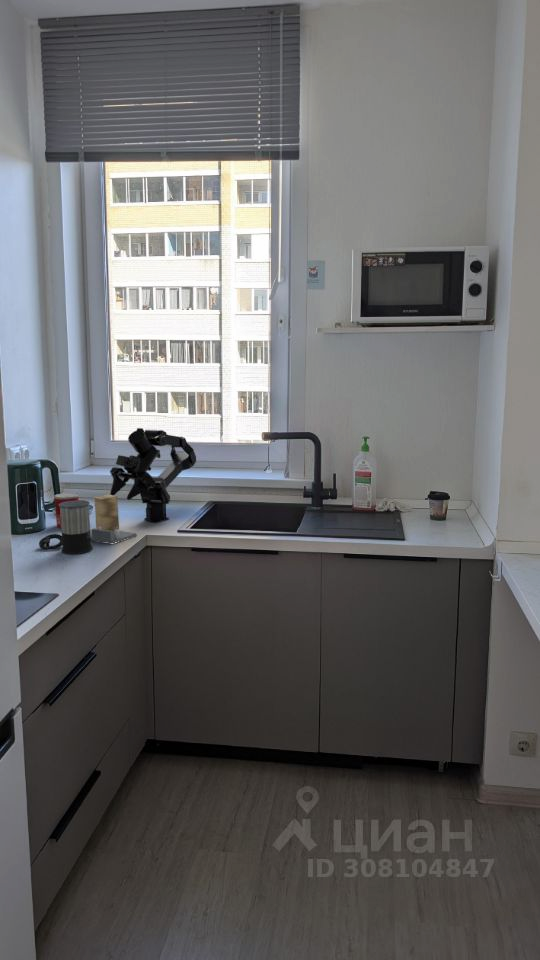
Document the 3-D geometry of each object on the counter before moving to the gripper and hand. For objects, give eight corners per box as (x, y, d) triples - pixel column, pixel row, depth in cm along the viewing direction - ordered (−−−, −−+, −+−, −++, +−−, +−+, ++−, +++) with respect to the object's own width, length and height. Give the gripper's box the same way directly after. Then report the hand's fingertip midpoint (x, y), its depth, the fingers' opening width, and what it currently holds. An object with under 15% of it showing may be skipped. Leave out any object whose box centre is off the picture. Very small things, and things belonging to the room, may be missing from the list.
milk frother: (93, 553, 225) (90, 505, 223) (39, 558, 221) (35, 509, 218) (90, 541, 239) (88, 496, 236) (39, 545, 234) (35, 499, 232)
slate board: (115, 532, 249) (114, 521, 248) (136, 536, 244) (135, 524, 243) (90, 541, 239) (90, 528, 238) (112, 544, 234) (112, 532, 234)
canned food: (74, 529, 255) (71, 497, 252) (52, 528, 256) (50, 497, 254) (83, 523, 262) (82, 493, 260) (62, 523, 263) (60, 492, 261)
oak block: (112, 529, 254) (110, 494, 252) (119, 531, 251) (117, 496, 248) (96, 532, 250) (94, 497, 248) (103, 534, 247) (101, 499, 244)
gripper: (112, 443, 258) (87, 480, 252) (146, 448, 245) (121, 486, 239) (132, 463, 265) (108, 498, 259) (166, 468, 252) (142, 506, 247)
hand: (119, 497), depth 251 cm, fingers open, 9 cm apart
